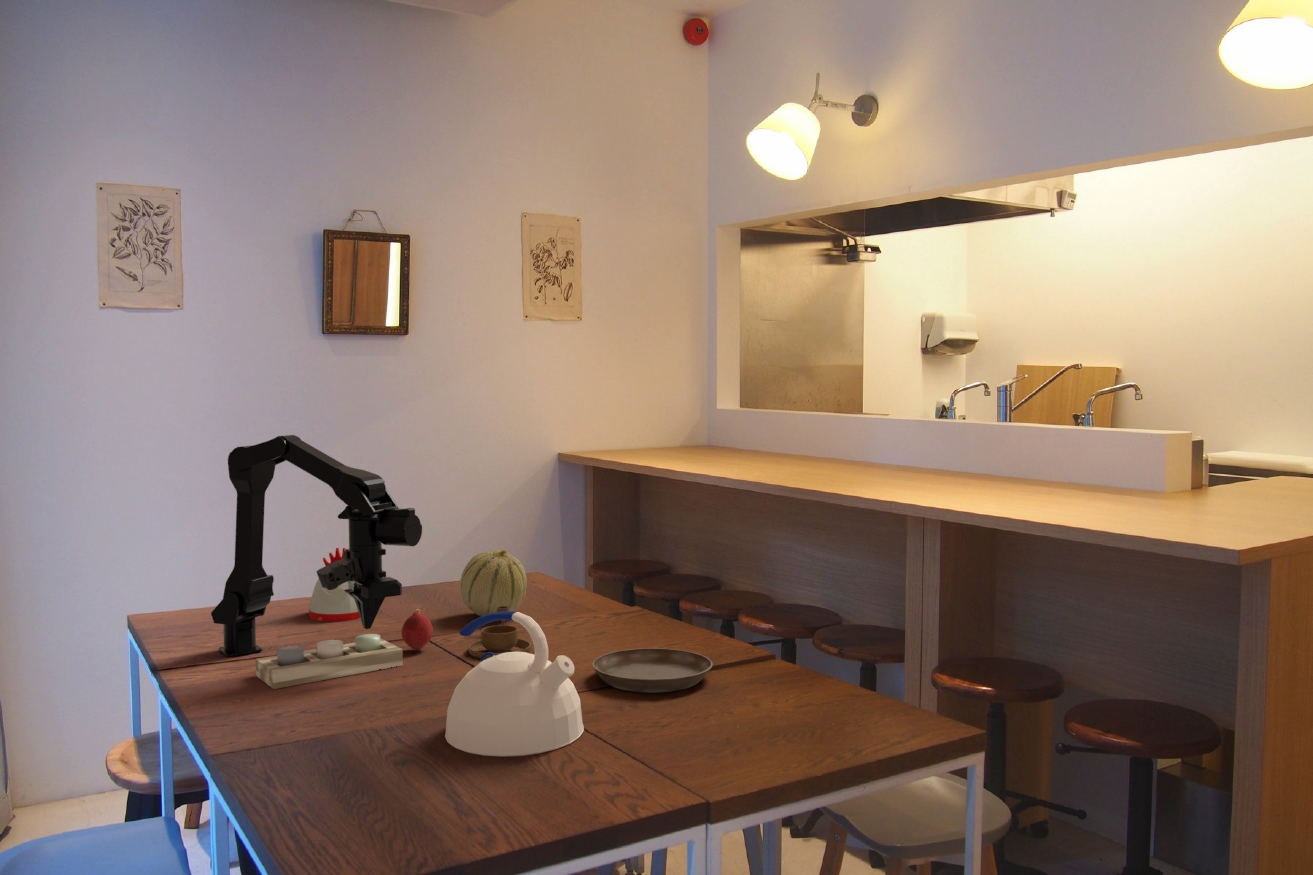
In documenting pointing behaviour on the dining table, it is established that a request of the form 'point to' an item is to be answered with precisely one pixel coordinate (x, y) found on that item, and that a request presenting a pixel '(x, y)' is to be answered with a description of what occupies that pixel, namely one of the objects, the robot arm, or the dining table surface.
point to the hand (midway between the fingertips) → (367, 628)
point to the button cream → (329, 649)
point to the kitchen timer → (332, 599)
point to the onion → (417, 630)
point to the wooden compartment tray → (328, 665)
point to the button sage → (367, 643)
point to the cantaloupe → (493, 582)
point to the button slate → (290, 655)
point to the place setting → (498, 639)
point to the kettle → (514, 699)
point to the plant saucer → (652, 669)
